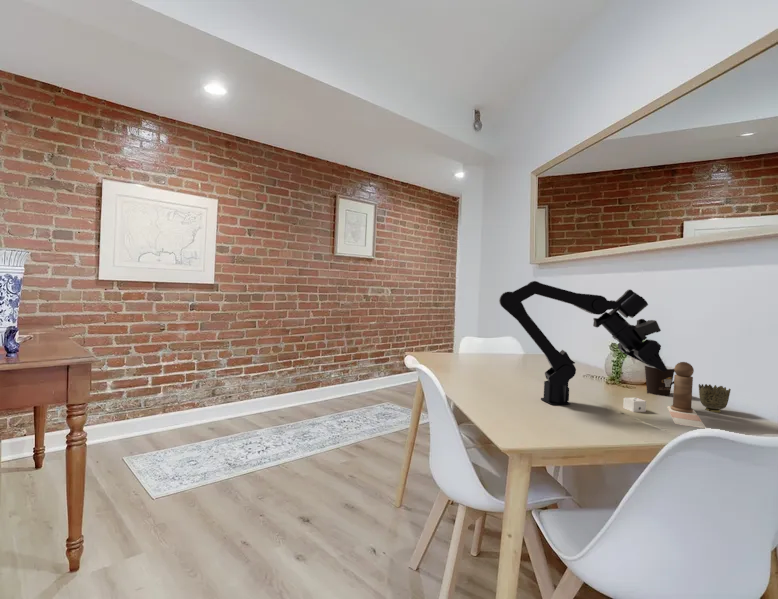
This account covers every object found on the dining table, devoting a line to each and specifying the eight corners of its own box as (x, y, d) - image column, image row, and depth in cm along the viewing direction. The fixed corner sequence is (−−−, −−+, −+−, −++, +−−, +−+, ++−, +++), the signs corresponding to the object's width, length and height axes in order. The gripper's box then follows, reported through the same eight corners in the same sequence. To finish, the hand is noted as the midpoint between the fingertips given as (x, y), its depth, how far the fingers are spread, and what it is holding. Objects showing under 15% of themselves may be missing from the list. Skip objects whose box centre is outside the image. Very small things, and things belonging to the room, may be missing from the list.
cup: (734, 418, 119) (736, 390, 119) (705, 416, 121) (707, 388, 121) (719, 411, 127) (721, 384, 127) (692, 409, 128) (693, 382, 128)
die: (633, 415, 119) (634, 401, 119) (623, 411, 123) (623, 397, 123) (645, 415, 120) (646, 401, 120) (635, 411, 124) (635, 397, 124)
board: (709, 432, 106) (710, 429, 106) (671, 426, 109) (671, 423, 109) (696, 412, 124) (696, 409, 124) (664, 408, 128) (664, 405, 128)
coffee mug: (648, 397, 141) (650, 367, 141) (639, 391, 149) (640, 363, 149) (688, 400, 138) (689, 370, 138) (676, 394, 147) (678, 366, 147)
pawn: (681, 413, 120) (684, 363, 119) (666, 407, 125) (669, 360, 125) (697, 412, 121) (700, 363, 120) (681, 407, 126) (684, 360, 125)
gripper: (654, 311, 115) (698, 354, 113) (630, 309, 134) (667, 346, 132) (621, 338, 117) (663, 381, 115) (602, 332, 136) (638, 369, 133)
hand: (659, 368), depth 124 cm, fingers open, 9 cm apart
